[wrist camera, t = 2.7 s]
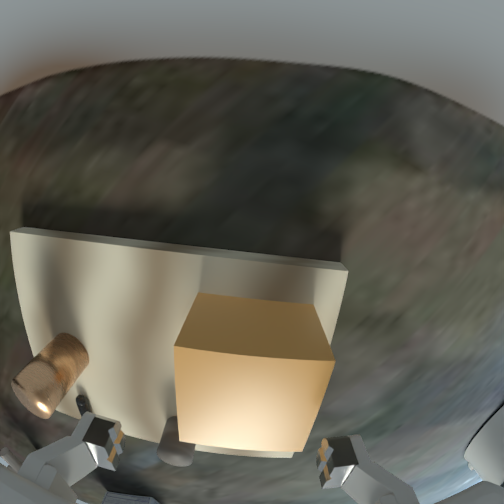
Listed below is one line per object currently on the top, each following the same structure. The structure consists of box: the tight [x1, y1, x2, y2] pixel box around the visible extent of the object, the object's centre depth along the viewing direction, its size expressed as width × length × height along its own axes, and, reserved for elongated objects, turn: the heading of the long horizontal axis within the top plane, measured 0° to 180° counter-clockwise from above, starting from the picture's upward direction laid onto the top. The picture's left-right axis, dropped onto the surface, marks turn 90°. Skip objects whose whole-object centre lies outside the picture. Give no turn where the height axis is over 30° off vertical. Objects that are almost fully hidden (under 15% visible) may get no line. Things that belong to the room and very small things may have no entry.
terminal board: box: [10, 227, 348, 466], centre depth 16 cm, size 21×16×4 cm
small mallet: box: [12, 333, 92, 419], centre depth 15 cm, size 3×10×6 cm, turn 174°
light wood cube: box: [174, 292, 335, 452], centre depth 13 cm, size 6×6×5 cm
